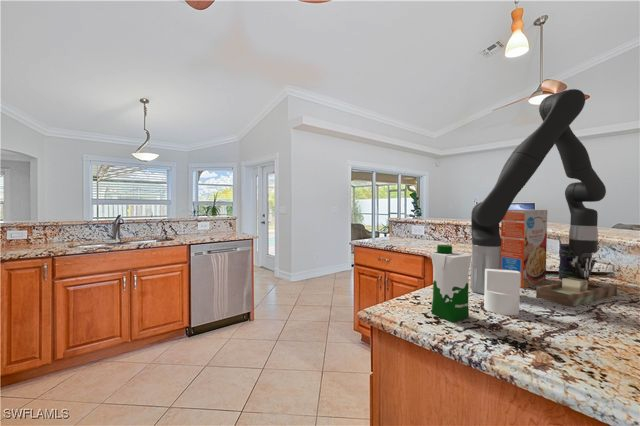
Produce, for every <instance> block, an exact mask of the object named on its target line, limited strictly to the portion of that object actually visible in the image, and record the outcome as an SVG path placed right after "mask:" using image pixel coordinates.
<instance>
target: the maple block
mask: <svg viewBox="0 0 640 426" xmlns="http://www.w3.org/2000/svg"><path fill="white" fill-rule="evenodd" d="M561 282H562V290H565V291H569V292H573V293H578V292H582V291H587V286H588V284H589V283H588V281H587V280H582V279H577V278H572V277H568V278H563V279H562V280H561Z"/></svg>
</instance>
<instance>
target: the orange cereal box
mask: <svg viewBox="0 0 640 426" xmlns="http://www.w3.org/2000/svg"><path fill="white" fill-rule="evenodd" d="M500 225H501V228H500V237H501V270H512V271H518V272H520V289H523V290H524V289H526V288H529V287H531V286H533V285H536V284H538V282H539V283H541V282H543V280H544V281H546V280H547V279H546V278H547V277H546V276H547V248H548V245H547V243H548V240H547V238H548V236H547V235H548V234H547V233H548V209H508V211H507V212H506V214H505V216H504V218H503V220H502V221H501V222H500Z"/></svg>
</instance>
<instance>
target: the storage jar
mask: <svg viewBox="0 0 640 426" xmlns="http://www.w3.org/2000/svg"><path fill="white" fill-rule="evenodd" d="M558 254H559V255H558V257H559V265H558V279H559V280H560V281H562V279H563V278H568V277H572V278H577V276H576V275H575V274H573V272H572V270H571V268H570V265H569V261H573V255H574V252H573V251H570V250H569V243H559V251H558ZM590 275H591V274H588V277H587V281H588V282H589V283H590Z"/></svg>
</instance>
